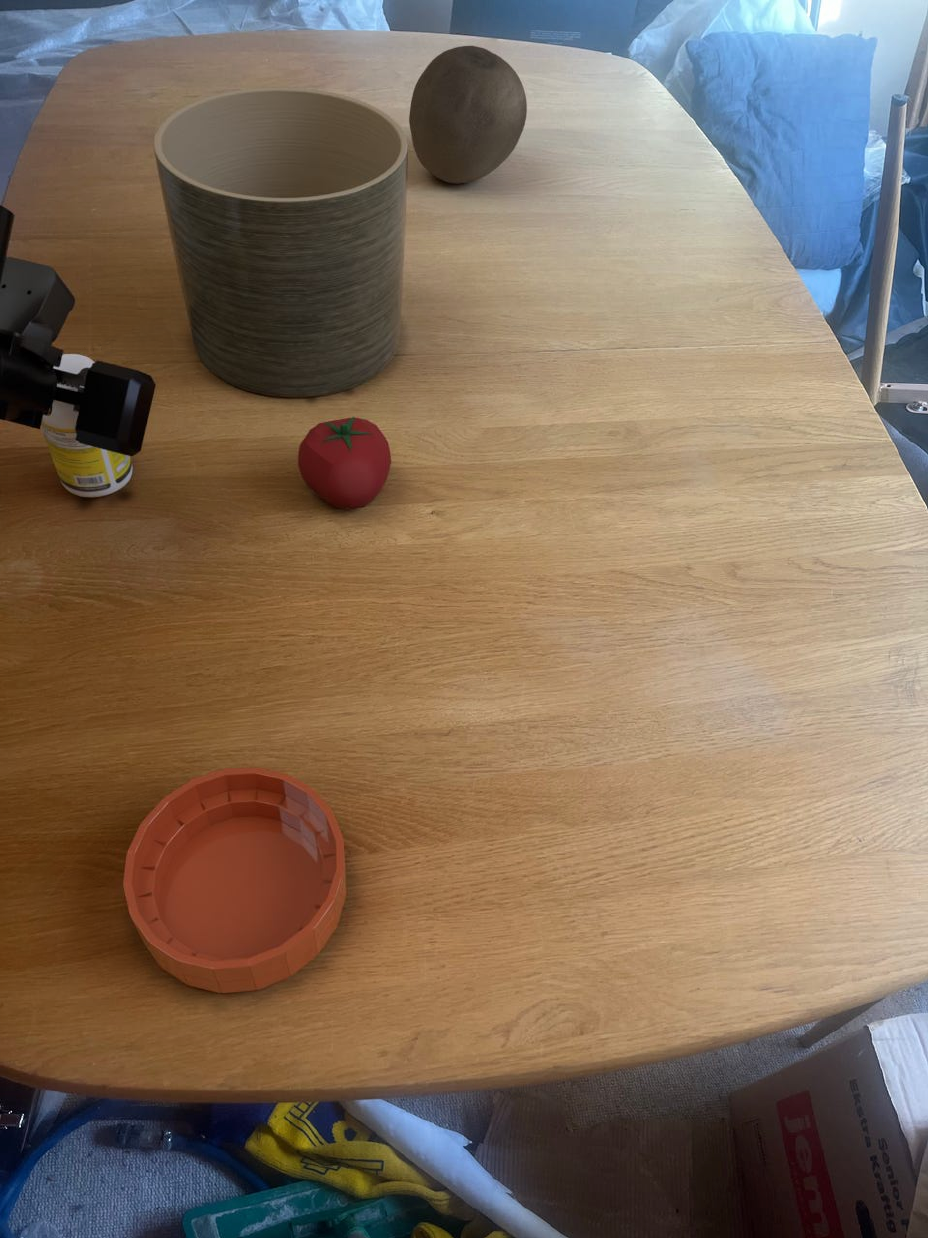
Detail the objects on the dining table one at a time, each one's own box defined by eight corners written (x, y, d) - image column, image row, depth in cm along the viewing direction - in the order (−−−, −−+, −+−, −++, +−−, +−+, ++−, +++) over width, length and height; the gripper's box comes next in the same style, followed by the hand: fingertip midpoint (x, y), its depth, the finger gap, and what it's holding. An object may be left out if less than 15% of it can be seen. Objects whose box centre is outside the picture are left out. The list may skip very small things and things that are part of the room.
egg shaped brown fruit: (454, 214, 119) (462, 85, 107) (386, 168, 125) (387, 41, 114) (538, 186, 125) (555, 61, 113) (470, 143, 131) (479, 20, 120)
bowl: (165, 1031, 56) (151, 1005, 52) (119, 841, 63) (104, 807, 60) (375, 945, 60) (375, 916, 56) (309, 776, 67) (305, 741, 64)
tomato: (287, 481, 86) (280, 417, 80) (361, 449, 89) (360, 385, 84) (335, 534, 82) (332, 471, 77) (411, 499, 86) (413, 435, 80)
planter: (442, 365, 99) (453, 170, 83) (239, 427, 90) (210, 223, 75) (345, 260, 110) (340, 72, 95) (158, 306, 102) (117, 108, 86)
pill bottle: (109, 444, 87) (81, 338, 79) (147, 479, 84) (122, 373, 76) (46, 473, 84) (9, 366, 76) (84, 510, 81) (50, 404, 73)
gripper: (115, 276, 63) (213, 335, 78) (-133, 218, 65) (9, 285, 81) (78, 443, 64) (182, 468, 79) (-165, 379, 66) (-18, 416, 82)
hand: (88, 405), depth 80 cm, fingers closed on pill bottle, 6 cm apart
